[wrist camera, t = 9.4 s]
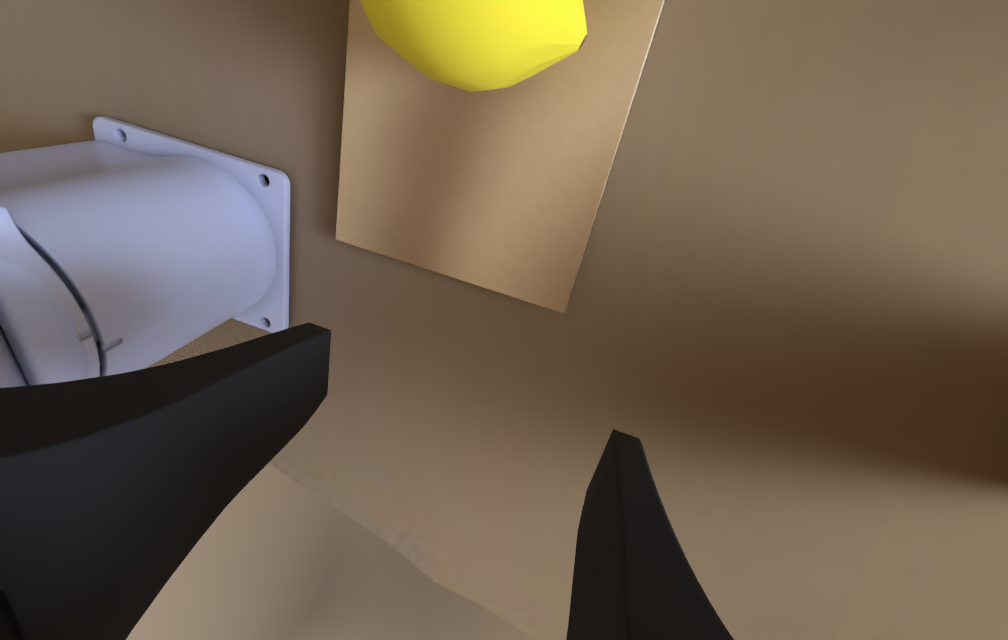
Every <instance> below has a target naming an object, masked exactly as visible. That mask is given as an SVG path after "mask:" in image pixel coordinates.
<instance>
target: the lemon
mask: <svg viewBox="0 0 1008 640" xmlns="http://www.w3.org/2000/svg"><path fill="white" fill-rule="evenodd" d="M360 1H361V3H362V6H363V8H364V10H365V12H366V14H367V16H368V19H369V21H370V23H371V25H372V27H373V29H374V32H375V34H376V35H377V36H378V37H379V38H381V39H382V40H383V41H384V42H385V43H387V44H388V45H389V46H390V47H391V48H393V49H394V50H395V51H396V52H397V53H398V54H400V55H401V56H402V57H403V58H404V59H406V60H407V61H408V62H409V63H410V64H412V65H413V66H414V67H416V68H417V69H418V70H420V71H421V72H423V73H424V74H425V75H427V76H428V77H429V78H431V79H433V80H436V81H439V82H442V83H445V84H448V85H451V86H454V87H457V88H460V89H463V90H466V91H469V92H478V91H486V90H494V89H500V88H507V87H510V86H513V85H515V84H517V83H519V82H521V81H523V80H525V79H527V78H529V77H531V76H533V75H535V74H537V73H538V72H540V71H542V70H544V69H546V68H548V67H549V66H551V65H553V64H555V63H557V62H559V61H560V60H562V59H564V58H566V57H568V56H569V55H571V54H573V53H575V52H577V51H578V50H580V48H581V47H582V45H583V43H584V41H585V39H586V37H587V27H586V19H585V12H584V4H583V0H360Z"/></svg>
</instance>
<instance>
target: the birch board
mask: <svg viewBox="0 0 1008 640" xmlns="http://www.w3.org/2000/svg"><path fill="white" fill-rule="evenodd" d="M664 3H665V0H583V4H584V12H585V19H586V27H587V37H586V39H585V41H584V43H583V45H582V47H581V48H580V50H578V51H577V52H575V53H573V54H571V55H569V56H568V57H566V58H564V59H562V60H560V61H559V62H557V63H555V64H553V65H551V66H549V67H548V68H546V69H544V70H542V71H540V72H538V73H537V74H535V75H533V76H531V77H529V78H527V79H525V80H523V81H521V82H519V83H517V84H515V85H513V86H510V87H507V88H500V89H494V90H486V91H478V92H469V91H466V90H463V89H460V88H457V87H454V86H451V85H448V84H445V83H442V82H439V81H436V80H433V79H431V78H429V77H428V76H427V75H425V74H424V73H423V72H421V71H420V70H418V69H417V68H416V67H414V66H413V65H412V64H410V63H409V62H408V61H407V60H406V59H404V58H403V57H402V56H401V55H400V54H398V53H397V52H396V51H395V50H394V49H393V48H391V47H390V46H389V45H388V44H387V43H385V42H384V41H383V40H382V39H381V38H379V37H378V36H377V35H376V34H375V32H374V29H373V27H372V25H371V23H370V21H369V19H368V16H367V14H366V12H365V10H364V8H363V6H362V3H361V1H360V0H350V4H349V21H348V38H347V55H346V72H345V89H344V106H343V122H342V139H341V156H340V173H339V190H338V207H337V224H336V240H339V241H342V242H345V243H348V244H351V245H354V246H357V247H360V248H363V249H366V250H370V251H373V252H376V253H379V254H382V255H385V256H388V257H391V258H394V259H397V260H400V261H403V262H406V263H409V264H413V265H416V266H419V267H422V268H425V269H428V270H431V271H434V272H437V273H440V274H443V275H446V276H449V277H452V278H456V279H459V280H462V281H465V282H468V283H471V284H474V285H477V286H480V287H483V288H486V289H489V290H492V291H495V292H499V293H502V294H505V295H508V296H511V297H514V298H517V299H520V300H523V301H526V302H529V303H532V304H535V305H538V306H542V307H545V308H548V309H551V310H554V311H557V312H560V313H565V310H566V307H567V305H568V302H569V298H570V295H571V292H572V289H573V286H574V283H575V280H576V277H577V274H578V270H579V267H580V264H581V261H582V258H583V255H584V252H585V249H586V246H587V242H588V239H589V236H590V233H591V230H592V227H593V224H594V221H595V218H596V214H597V211H598V208H599V205H600V202H601V199H602V196H603V193H604V189H605V186H606V183H607V180H608V177H609V174H610V171H611V168H612V165H613V161H614V158H615V155H616V152H617V149H618V146H619V143H620V140H621V137H622V133H623V130H624V127H625V124H626V121H627V118H628V115H629V112H630V109H631V105H632V102H633V99H634V96H635V93H636V90H637V87H638V84H639V81H640V77H641V74H642V71H643V68H644V65H645V62H646V59H647V56H648V53H649V49H650V46H651V43H652V40H653V37H654V34H655V31H656V28H657V25H658V21H659V18H660V15H661V12H662V9H663V6H664Z"/></svg>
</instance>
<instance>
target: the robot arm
mask: <svg viewBox="0 0 1008 640" xmlns="http://www.w3.org/2000/svg"><path fill="white" fill-rule="evenodd" d="M93 130H94V136H95V140H92V141H84V142H77V143H69V144H62V145H54V146H47V147H39V148H32V149H24V150H17V151H10V152H2V153H0V640H126V638H127V637H128V635H129V634H130V632H131V631H132V629H133V628H134V626H135V625H136V624H137V622H138V621H139V620H140V618H141V617H142V615H143V614H144V613H145V611H146V610H147V609H148V607H149V606H150V604H151V603H152V602H153V600H154V599H155V597H156V596H157V595H158V593H159V592H160V590H161V589H162V588H163V586H164V585H165V584H166V582H167V581H168V580H169V578H170V577H171V575H172V574H173V573H174V572H175V570H176V569H177V568H178V567H179V565H180V564H181V563H182V561H183V560H184V559H185V557H186V556H187V555H188V553H189V552H190V551H191V550H192V548H193V547H194V546H195V544H196V543H197V542H198V541H199V539H200V538H201V537H202V535H203V534H204V533H205V532H206V531H207V529H208V528H209V527H210V525H211V524H212V523H213V522H214V521H215V519H216V518H217V517H218V516H219V515H220V513H221V512H222V511H223V510H224V508H225V507H226V506H227V505H228V504H229V503H230V502H231V501H232V500H233V498H234V497H235V496H236V495H237V494H238V493H239V492H240V491H241V490H242V489H243V488H244V487H245V486H246V485H247V484H248V482H249V481H250V480H252V479H253V478H254V477H255V476H256V475H257V474H258V473H259V471H261V470H262V469H263V468H264V467H265V466H266V465H267V464H268V463H269V462H270V461H271V459H272V458H273V457H274V456H275V455H276V454H277V453H278V452H279V451H280V450H281V449H282V448H283V447H284V446H285V445H286V444H287V443H288V442H289V441H290V440H291V439H292V438H293V437H294V436H295V435H296V434H297V433H298V432H299V431H300V430H301V429H302V428H303V427H304V425H305V424H306V423H307V421H308V420H309V419H310V418H311V416H312V415H313V414H314V412H315V411H316V410H317V408H318V407H319V405H320V404H321V403H322V401H323V400H324V398H325V397H326V396H327V389H328V373H329V356H330V340H331V330H329V329H326V328H323V327H320V326H317V325H315V324H312V323H306V324H302V325H298V326H294V327H291V328H288V327H289V257H290V180H289V178H288V176H287V175H286V174H285V173H284V172H282V171H280V170H277V169H274V168H271V167H268V166H265V165H261V164H258V163H255V162H252V161H248V160H245V159H242V158H239V157H236V156H232V155H229V154H226V153H223V152H220V151H216V150H213V149H210V148H207V147H203V146H200V145H197V144H194V143H191V142H187V141H184V140H181V139H178V138H175V137H171V136H168V135H165V134H162V133H159V132H155V131H152V130H149V129H146V128H142V127H139V126H136V125H133V124H130V123H126V122H123V121H120V120H117V119H114V118H110V117H107V116H101V117H96V118H94V120H93ZM124 133H125V134H124ZM125 135H126V136H125ZM265 175H266V176H267V177H268V178H269V184H268V183H267V182H266V181H265V177H264V176H265ZM230 318H232V319H235V320H238V321H241V322H244V323H246V324H249V325H252V326H255V327H258V328H260V329H263V330H266V331H269V332H272V334H269V335H266V336H263V337H259V338H256V339H253V340H250V341H247V342H244V343H240V344H237V345H234V346H231V347H228V348H224V349H221V350H217V351H214V352H210V353H206V354H203V355H199V356H195V357H192V358H188V359H185V360H181V361H177V362H173V363H169V364H165V365H160V366H156V367H151V368H148V367H149V366H151V365H153V364H154V363H156V362H158V361H160V360H161V359H163V358H165V357H166V356H168V355H170V354H171V353H173V352H175V351H176V350H178V349H180V348H181V347H183V346H185V345H186V344H188V343H190V342H191V341H193V340H195V339H197V338H198V337H200V336H202V335H203V334H205V333H207V332H208V331H210V330H212V329H213V328H215V327H217V326H218V325H220V324H222V323H223V322H225V321H227V320H228V319H230ZM267 319H268V320H269V321H270V323H269V322H268V320H267ZM566 640H734V639H733V638H732V636H731V635H730V633H729V632H728V630H727V629H726V627H725V626H724V624H723V623H722V621H721V620H720V618H719V616H718V615H717V613H716V611H715V610H714V608H713V607H712V605H711V603H710V602H709V600H708V598H707V596H706V594H705V593H704V591H703V589H702V587H701V586H700V584H699V582H698V580H697V578H696V576H695V574H694V572H693V571H692V569H691V567H690V565H689V563H688V561H687V559H686V557H685V555H684V552H683V550H682V548H681V546H680V544H679V542H678V540H677V537H676V535H675V533H674V531H673V528H672V526H671V524H670V521H669V519H668V516H667V514H666V511H665V509H664V507H663V504H662V502H661V499H660V496H659V494H658V491H657V488H656V486H655V483H654V480H653V477H652V474H651V471H650V468H649V465H648V462H647V459H646V456H645V452H644V449H643V446H642V443H641V441H640V439H639V438H637V437H634V436H631V435H628V434H625V433H622V432H619V431H617V430H614V429H613V431H612V433H611V436H610V438H609V440H608V443H607V445H606V447H605V450H604V452H603V454H602V456H601V459H600V461H599V463H598V466H597V468H596V470H595V473H594V475H593V477H592V480H591V482H590V484H589V487H588V489H587V492H586V496H585V501H584V505H583V510H582V514H581V519H580V523H579V528H578V535H577V544H576V554H575V564H574V574H573V584H572V594H571V604H570V615H569V625H568V632H567V639H566Z"/></svg>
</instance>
